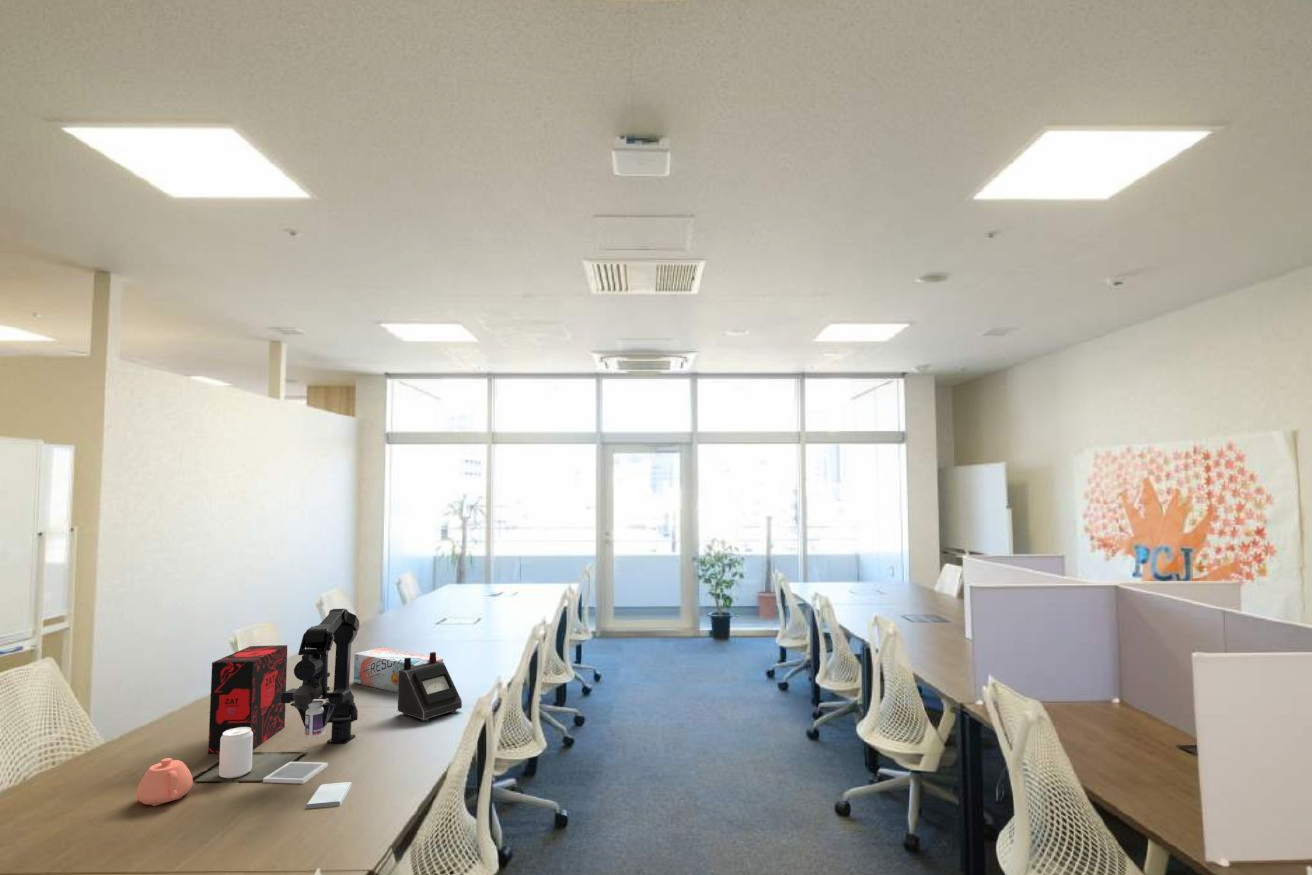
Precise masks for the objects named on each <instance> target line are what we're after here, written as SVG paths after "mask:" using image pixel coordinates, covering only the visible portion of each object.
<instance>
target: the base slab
mask: <svg viewBox="0 0 1312 875" xmlns="http://www.w3.org/2000/svg"><path fill="white" fill-rule="evenodd" d="M328 767H329V762H317V761H315V762H314V761H313V762H312V761H308V762H307V761H289V762H287V763H286V764H284V765H282V766H281V767H279V768H277V769H276V770H274V771H273V772H271V773H270V774H267V775H266V776H265V777H263V778H262V783H273V784H274V783H275V784H276V783H279V784H303V785H304V784H305V783H306V782H308V781H309V780H311V779H312V778H314V777H315V776H316V775H318V774H320V773H321V772H322V771H324V770H325V769H327V768H328Z"/></svg>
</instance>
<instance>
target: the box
mask: <svg viewBox="0 0 1312 875" xmlns="http://www.w3.org/2000/svg"><path fill="white" fill-rule="evenodd" d="M287 665H288V645H287V644H283V645H279V644H277V645H275V644H274V645H250V646H247V647H246V648H243V649H240V650H238V651H236V652H233V653H231V654H229V655H226V656H225V657H222V658H220V659H218V660H217V659H216V660H215V661H212V662H211V676H210V678H211V680H210V703H209V722H208V723H209V726H208V727H209V728H208V748H207V749H208V752H207V754H208V755H220V739H221V737H222V735H223V732H225V731H227V730H230V729H233V728H239V727H249V728H251V731H252V732H253V749H252V752H253V751H254V750H256V749H257V748H258V747H260V746H261V745H262V744H264V743H265V742H267V740H270V739H271V738H272V737H273V736H275V735H276V734H278V733H279V732H281V731H282V730H284V728H286V726H285V724H286V703H280V701H281V695H282V694H283V693H284V692H286V691H287V669H288V668H287V667H288V666H287Z"/></svg>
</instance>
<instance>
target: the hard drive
mask: <svg viewBox="0 0 1312 875" xmlns="http://www.w3.org/2000/svg"><path fill="white" fill-rule="evenodd" d="M351 787H352V782H351V781H347V782H335V783H334V782H333V783H325V784H324V783H323V784H320V785H319V786H318V787H317V788H316V791H315V792H314V793H313V795H312V796H311V798H310V799H309V801H308V802H307V803H306V805H305V806H306V807H305V808H306V809H316V808H317V809H319V808H325V807H326V808H327V807H337V806H341V805H342V803H343V801H344V800H345V798H346V797H347V794H348V792H349V791H350V789H351Z"/></svg>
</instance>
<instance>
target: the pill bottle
mask: <svg viewBox="0 0 1312 875" xmlns="http://www.w3.org/2000/svg"><path fill="white" fill-rule="evenodd" d="M324 700H325V699H314V700H313V701H312V703H310V704H309V705H308V707H309V709H307V710H306V714H305V726H304V736H305V737H306V738H308V739H312V738H314V739H315V738H319V737H322V736H323V735H325V733H326V726H325V727H324V726H323V712H324V709H323V707H322V705H323V704H324Z"/></svg>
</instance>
